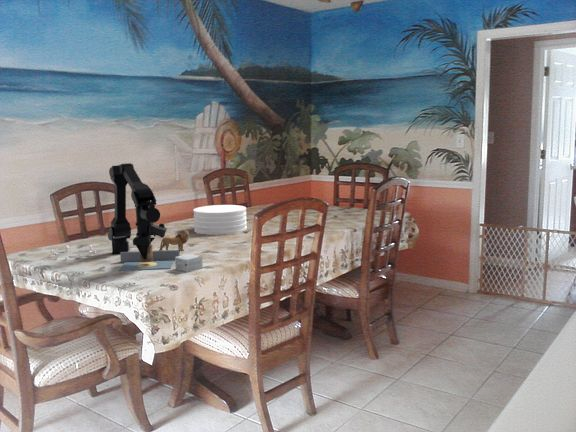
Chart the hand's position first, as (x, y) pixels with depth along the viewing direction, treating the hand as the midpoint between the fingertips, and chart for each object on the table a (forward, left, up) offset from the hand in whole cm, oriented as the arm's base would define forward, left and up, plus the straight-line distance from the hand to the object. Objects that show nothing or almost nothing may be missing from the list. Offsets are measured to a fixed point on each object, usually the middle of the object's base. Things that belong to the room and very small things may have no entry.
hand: (146, 257), depth 223 cm
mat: (0, 0, -3) cm, 3 cm away
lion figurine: (+8, +26, -4) cm, 28 cm away
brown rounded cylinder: (0, 0, -1) cm, 1 cm away
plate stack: (+27, +74, -4) cm, 79 cm away
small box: (+18, -7, -4) cm, 19 cm away
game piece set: (-36, +26, -4) cm, 45 cm away
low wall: (0, +9, -3) cm, 10 cm away
